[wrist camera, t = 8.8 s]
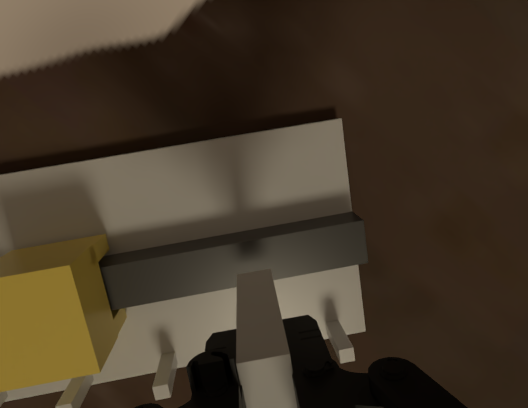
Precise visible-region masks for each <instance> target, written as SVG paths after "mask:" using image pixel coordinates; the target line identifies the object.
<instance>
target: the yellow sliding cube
mask: <svg viewBox="0 0 528 408" xmlns="http://www.w3.org/2000/svg"><path fill="white" fill-rule="evenodd" d="M108 251H109V245H108V241H107V238H106V234H102V235H96V236H90V237H85V238H79V239H73V240H68V241H62V242H56V243H51V244H45V245H39V246H34V247H28V248H22V249H17V250H12V251H10V252H8V253H7V254H5V255H3V256H2V257H0V392H4V391H9V390H14V389H19V388H25V387H30V386H35V385H40V384H45V383H50V382H55V381H61V380H66V379H71V378H76V377H81V376H86V375H92V374H97V373H100V372H101V370H102V368H103V366H104V364H105V362H106V360H107V358H108V356H109V354H110V352H111V350H112V348H113V346H114V344H115V342H116V340H117V338H118V334H119V332H120V330H121V328H122V326H123V324H124V322H125V320H126V318H127V315H126V311H125V308H122V309H117V310H112V311H111V309H110V305H109V301H108V298H107V294H106V290H105V286H104V283H103V279H102V275H101V271H100V268H99V264H98V262H99V261H100V259H101V258H102V257H103V256H104V255H105V254H106V253H107V252H108Z"/></svg>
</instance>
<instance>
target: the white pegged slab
mask: <svg viewBox="0 0 528 408" xmlns="http://www.w3.org/2000/svg"><path fill="white" fill-rule="evenodd" d="M102 234H106V238H107V241H108V245H109V251H108V252H107V253H106V254H105V255H104V256H103V257H102V258H101V259H100V261H99V262H98V264H99V268H100V271H101V275H102V279H103V283H104V286H105V290H106V294H107V298H108V301H109V305H110V309H111V311H112V310H117V309H122V308H125V311H126V315H127V318H126V320H125V322H124V324H123V326H122V328H121V330H120V332H119V334H118V338H117V340H116V342H115V344H114V346H113V348H112V350H111V352H110V354H109V356H108V358H107V360H106V362H105V364H104V366H103V368H102V370H101V372H100V373H97V374H92V375H86V376H81V377H76V378H71V379H66V380H61V381H55V382H50V383H45V384H40V385H35V386H30V387H25V388H19V389H14V390H9V391H4V392H0V406H1V405H2V404H3V402H6V401H11V400H16V399H21V398H27V397H32V396H37V395H42V394H47V393H52V392H57V391H62V390H65V391H64V393H63V394H62V396H61V398H60V399H59V401H58V403H57V404H56V406H55V407H56V408H80V406H81V404H82V402H83V400H84V398H85V396H86V394H87V392H88V390H89V388H90V386H91V385H93V384H98V383H103V382H108V381H113V380H119V379H124V378H129V377H134V376H139V375H144V374H149V373H154V372H156V376H155V379H154V383H153V386H152V388H153V392H154V396H155V400H160V399H165V398H170V397H171V394H172V389H173V384H174V379H175V374H176V369H177V368H180V367H185V366H187V365H188V363H189V361H190V360H191V359H192V358H194V357H195V356H196V355H198V354H200V353H202V352H205V345H206V341H207V340H208V339H209V337H210V336H211V335H212V333H216V332H221V331H227V330H232V329H236V304H237V274H243V273H248V272H254V271H260V270H265V269H271V272H272V277H273V281H274V285H275V290H276V294H277V299H278V303H279V308H280V312H281V316H282V319H287V318H292V317H298V316H303V315H309V316H311V317H312V318H313V319H315V320H316V321H317V324H318V326H319V329H320V331H321V334H322V336H323V339H328V338H329V339H330V342H331V344H332V346H333V348H334V350H335V352H336V355H337V357H338V359H339V361H340V363H345V362H350V361H355V356H354V348H353V346H352V344H351V342H350V340H349V339H348V337H347V335H348V334H354V333H359V332H364V331H366V330H365V321H364V313H363V304H362V295H361V286H360V277H359V268H358V264H364V263H368V257H367V247H366V238H365V229H364V220H363V219H361V218H360V217H359V216H357V215H356V214H355V213H353V212H352V207H351V198H350V189H349V180H348V172H347V163H346V154H345V145H344V136H343V128H342V119H341V118H336V119H330V120H324V121H318V122H312V123H306V124H300V125H294V126H288V127H282V128H276V129H270V130H264V131H258V132H252V133H246V134H240V135H234V136H228V137H222V138H216V139H210V140H204V141H198V142H192V143H186V144H180V145H174V146H168V147H162V148H156V149H150V150H144V151H138V152H132V153H126V154H120V155H114V156H107V157H101V158H95V159H89V160H83V161H77V162H71V163H65V164H59V165H53V166H47V167H41V168H35V169H29V170H23V171H17V172H11V173H5V174H0V257H2V256H3V255H5V254H7V253H8V252H10V251H12V250H17V249H22V248H28V247H34V246H39V245H45V244H51V243H56V242H62V241H68V240H73V239H79V238H85V237H90V236H96V235H102Z"/></svg>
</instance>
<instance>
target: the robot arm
mask: <svg viewBox="0 0 528 408" xmlns="http://www.w3.org/2000/svg"><path fill="white" fill-rule="evenodd" d="M186 369H187V373H188V377H189V382H190V386H191V391H192V397H191V400H190V401H189V402H187V403H186V404H184V405H182V406H181V407H179V408H467V407H466V406H465V405H463V404H462V403H461V402H460V401H459V400H457V399H456V398H455V397H454V396H453V395H451V394H450V393H449V392H448V391H446V390H445V389H444V388H443V387H442V386H440V385H439V384H438V383H437V382H435V381H434V380H433V379H432V378H431V377H429V376H428V375H427V374H426V373H424V372H423V371H422V370H421V369H420V368H418V367H417V366H416V365H415V364H413V363H411V362H410V361H408V360H405V359H401V358H397V357H387V358H382V359H379V360H377V361H375V362H373V363H372V364H371V365H370V367H369V368H368V373H354V372H349V371H345V370H343V369H341V368H339V366H338V364H337V363H336V362H335V361H334V360H332V359H331V356H330V354H329V351H328V349H327V346H326V344H325V341H324V339H323V336H322V334H321V331H320V329H319V326H318V324H317V321H316V320H315V319H313V318H312V317H311V316H309V315H303V316H298V317H292V318H287V319H282V316H281V312H280V308H279V303H278V299H277V294H276V290H275V285H274V281H273V277H272V272H271V269H265V270H260V271H254V272H248V273H243V274H237V304H236V329H232V330H227V331H221V332H216V333H212V335H211V336H210V337H209V339H208V340H207V341H206V345H205V352H202V353H200V354H198V355H196V356H195V357H194V358H192V359H191V360H190V361H189V363H188V365H187V367H186ZM135 408H163V407H161V406H160V405H158V404H152V403H149V404H143V405H140V406H137V407H135Z"/></svg>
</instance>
